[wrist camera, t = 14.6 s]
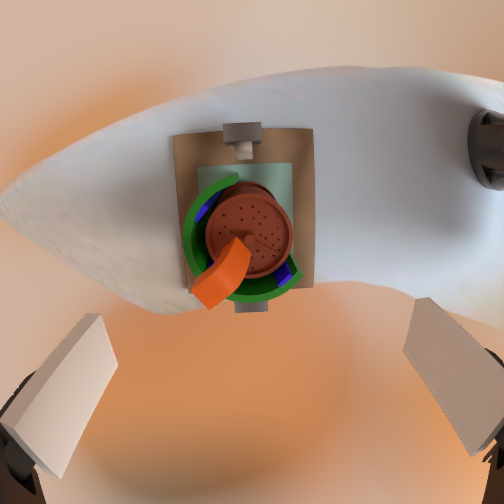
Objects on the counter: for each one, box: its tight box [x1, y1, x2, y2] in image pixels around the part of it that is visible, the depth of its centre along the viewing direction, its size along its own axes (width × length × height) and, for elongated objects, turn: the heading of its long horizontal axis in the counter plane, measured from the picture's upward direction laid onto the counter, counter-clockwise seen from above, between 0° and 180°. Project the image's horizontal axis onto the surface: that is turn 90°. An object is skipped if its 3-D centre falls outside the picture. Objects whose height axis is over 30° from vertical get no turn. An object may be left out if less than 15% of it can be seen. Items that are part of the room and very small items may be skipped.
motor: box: [183, 173, 304, 310], centre depth 27 cm, size 10×9×20 cm
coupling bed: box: [173, 122, 315, 313], centre depth 34 cm, size 18×22×8 cm
